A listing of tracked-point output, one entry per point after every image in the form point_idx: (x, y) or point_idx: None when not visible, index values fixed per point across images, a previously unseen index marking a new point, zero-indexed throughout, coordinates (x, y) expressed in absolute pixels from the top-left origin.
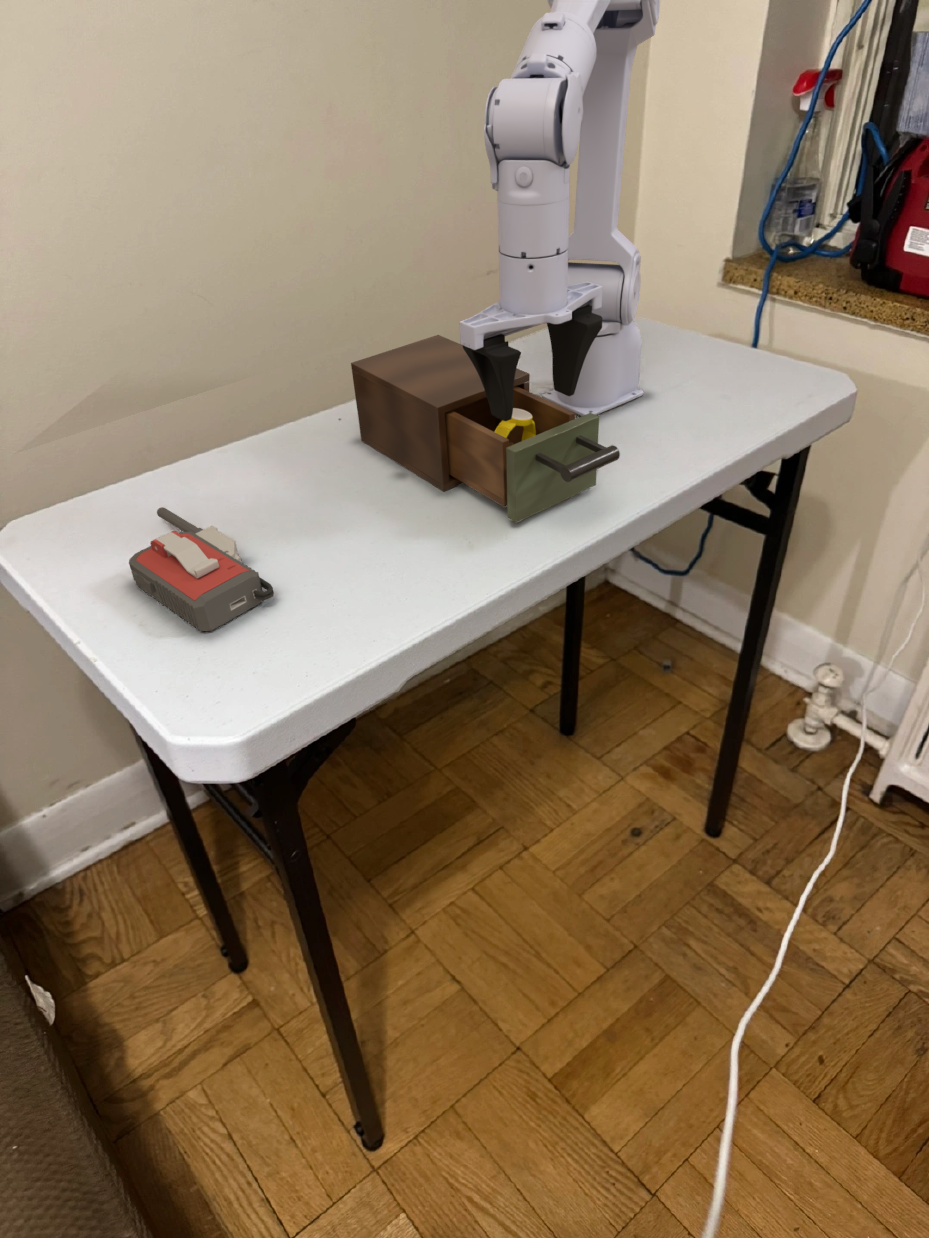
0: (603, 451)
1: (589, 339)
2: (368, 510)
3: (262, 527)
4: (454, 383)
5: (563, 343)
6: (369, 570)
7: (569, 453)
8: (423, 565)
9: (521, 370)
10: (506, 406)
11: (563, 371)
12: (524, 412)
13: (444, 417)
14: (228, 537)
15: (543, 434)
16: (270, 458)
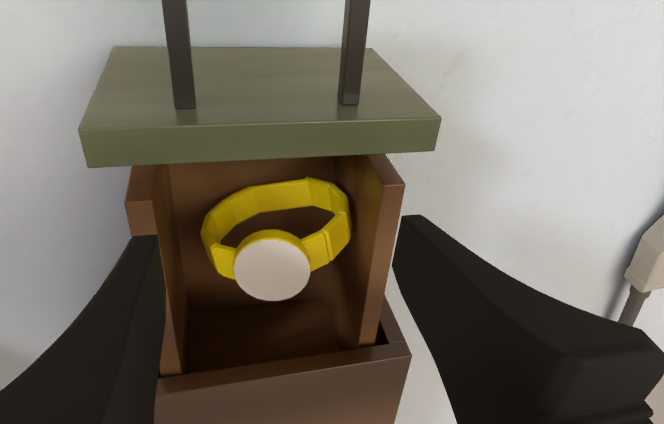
0: None
1: (46, 390)
2: (464, 245)
3: (564, 280)
4: (302, 420)
5: (141, 420)
6: (590, 115)
7: (220, 90)
8: (543, 69)
9: None
10: (449, 237)
11: (153, 318)
12: (247, 273)
13: (386, 336)
14: (659, 262)
15: (310, 147)
16: (439, 396)
